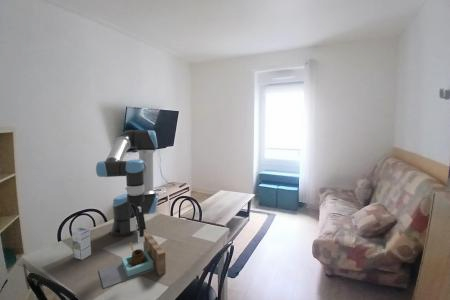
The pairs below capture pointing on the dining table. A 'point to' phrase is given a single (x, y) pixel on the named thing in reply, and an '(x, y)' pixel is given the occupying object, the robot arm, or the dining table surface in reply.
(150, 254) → the backstop wall
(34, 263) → the dining table surface
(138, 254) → the utensil holder
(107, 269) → the grey flat plate
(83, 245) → the syrup box
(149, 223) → the dining table surface
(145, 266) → the socket frame
